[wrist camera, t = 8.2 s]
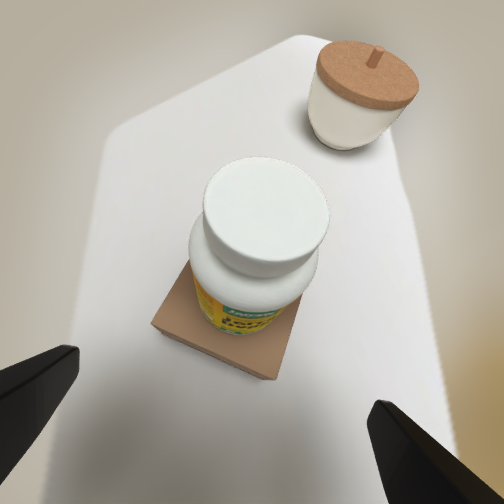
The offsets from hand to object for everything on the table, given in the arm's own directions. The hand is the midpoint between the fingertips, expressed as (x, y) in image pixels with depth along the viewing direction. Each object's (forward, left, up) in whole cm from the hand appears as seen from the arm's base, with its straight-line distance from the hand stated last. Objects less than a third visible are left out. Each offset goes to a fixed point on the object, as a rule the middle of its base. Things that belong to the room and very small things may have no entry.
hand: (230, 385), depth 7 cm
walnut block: (+5, +1, -11) cm, 12 cm away
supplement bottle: (+5, +1, -7) cm, 9 cm away
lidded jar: (+31, -2, -11) cm, 33 cm away
